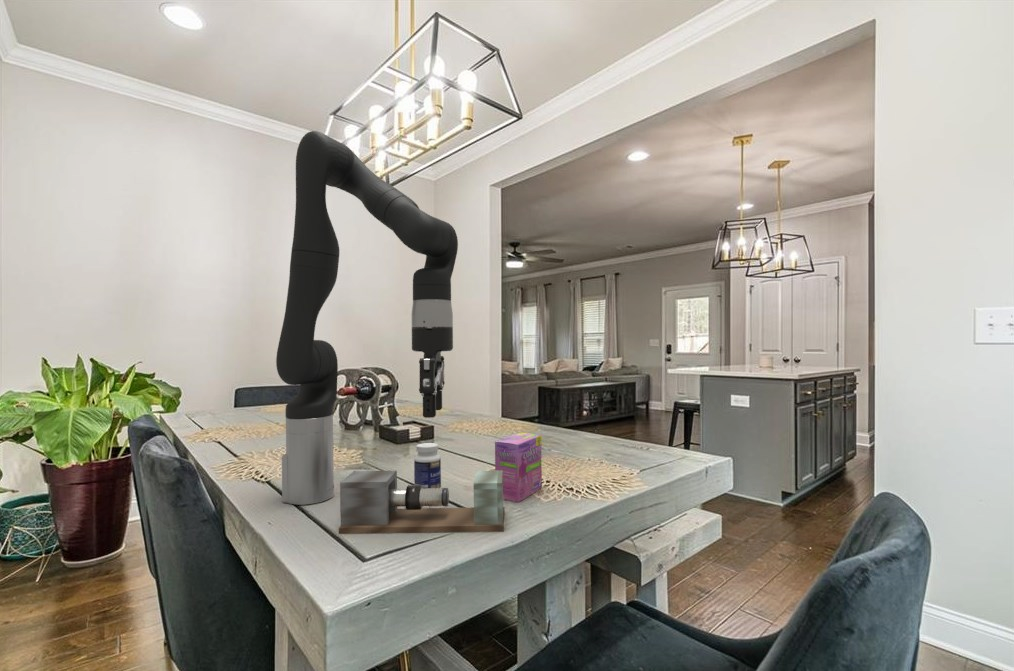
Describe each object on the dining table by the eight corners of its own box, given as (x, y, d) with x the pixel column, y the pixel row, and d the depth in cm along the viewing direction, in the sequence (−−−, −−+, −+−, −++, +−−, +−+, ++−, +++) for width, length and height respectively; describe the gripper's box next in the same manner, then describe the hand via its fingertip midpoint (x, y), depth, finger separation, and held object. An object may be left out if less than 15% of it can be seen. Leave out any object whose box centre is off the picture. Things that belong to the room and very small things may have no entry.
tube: (343, 514, 82) (343, 490, 82) (351, 506, 86) (351, 483, 87) (446, 512, 82) (445, 488, 82) (449, 504, 86) (449, 481, 86)
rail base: (338, 533, 80) (338, 484, 80) (356, 514, 89) (355, 469, 89) (503, 531, 79) (502, 481, 80) (504, 512, 88) (503, 467, 89)
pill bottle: (435, 495, 99) (434, 448, 99) (410, 494, 100) (409, 447, 101) (444, 487, 105) (443, 442, 105) (420, 485, 106) (419, 441, 106)
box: (518, 503, 94) (517, 443, 94) (494, 498, 97) (493, 440, 97) (543, 488, 102) (542, 434, 103) (520, 485, 105) (519, 432, 106)
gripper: (418, 327, 94) (419, 408, 94) (403, 324, 80) (404, 420, 80) (456, 326, 94) (457, 407, 94) (448, 323, 80) (449, 419, 80)
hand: (433, 413), depth 87 cm, fingers open, 8 cm apart
